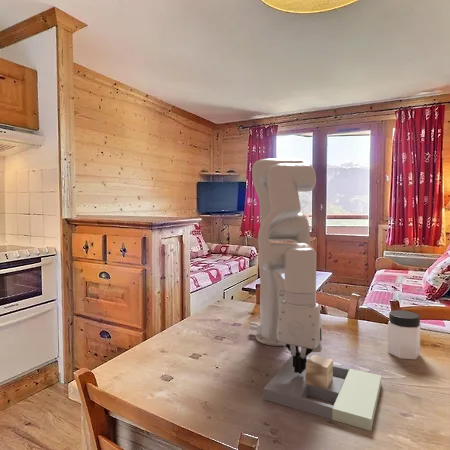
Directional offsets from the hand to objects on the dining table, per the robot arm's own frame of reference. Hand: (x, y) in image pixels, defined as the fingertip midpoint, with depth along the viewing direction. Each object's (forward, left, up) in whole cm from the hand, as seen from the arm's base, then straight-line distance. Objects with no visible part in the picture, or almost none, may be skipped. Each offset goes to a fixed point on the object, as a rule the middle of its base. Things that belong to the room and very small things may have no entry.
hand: (299, 370), depth 85 cm
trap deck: (+6, 0, -4) cm, 7 cm away
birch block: (+5, 0, -1) cm, 5 cm away
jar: (+22, +33, -4) cm, 40 cm away
